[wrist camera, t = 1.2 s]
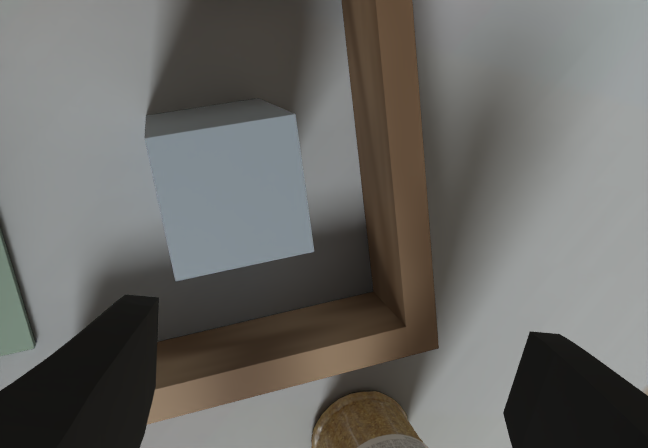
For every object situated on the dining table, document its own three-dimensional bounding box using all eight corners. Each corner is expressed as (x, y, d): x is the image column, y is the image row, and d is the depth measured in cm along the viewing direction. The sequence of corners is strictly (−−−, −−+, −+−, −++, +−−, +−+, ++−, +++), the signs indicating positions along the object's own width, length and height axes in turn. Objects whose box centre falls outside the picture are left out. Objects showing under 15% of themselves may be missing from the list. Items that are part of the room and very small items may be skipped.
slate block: (168, 224, 22) (175, 281, 17) (146, 115, 21) (144, 138, 16) (275, 203, 23) (314, 251, 18) (258, 98, 22) (295, 114, 16)
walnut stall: (79, 389, 23) (67, 445, 20) (-46, -50, 18) (-89, -71, 15) (402, 311, 26) (438, 348, 23) (365, -87, 21) (403, -112, 18)
